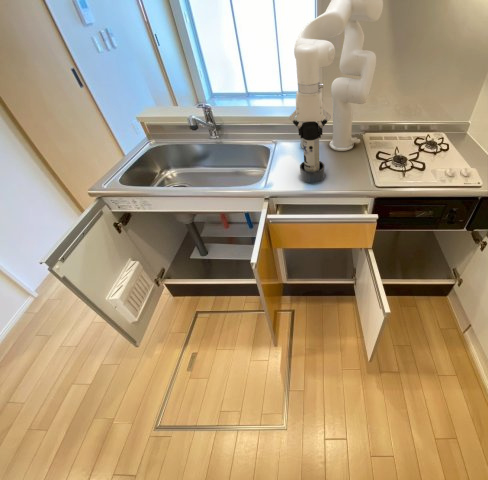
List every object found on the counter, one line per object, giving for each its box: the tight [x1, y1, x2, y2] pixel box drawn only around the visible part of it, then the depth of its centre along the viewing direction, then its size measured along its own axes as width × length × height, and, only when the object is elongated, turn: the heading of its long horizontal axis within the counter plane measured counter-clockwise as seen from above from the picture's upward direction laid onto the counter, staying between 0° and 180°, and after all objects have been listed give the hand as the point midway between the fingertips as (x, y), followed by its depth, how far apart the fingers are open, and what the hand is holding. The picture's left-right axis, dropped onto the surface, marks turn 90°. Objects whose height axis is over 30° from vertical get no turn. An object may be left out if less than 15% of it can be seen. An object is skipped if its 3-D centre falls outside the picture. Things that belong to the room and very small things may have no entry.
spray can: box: [302, 121, 320, 172], centre depth 110 cm, size 7×7×20 cm
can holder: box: [299, 160, 326, 185], centre depth 118 cm, size 11×11×6 cm
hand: (310, 136), depth 107 cm, fingers closed on spray can, 6 cm apart
